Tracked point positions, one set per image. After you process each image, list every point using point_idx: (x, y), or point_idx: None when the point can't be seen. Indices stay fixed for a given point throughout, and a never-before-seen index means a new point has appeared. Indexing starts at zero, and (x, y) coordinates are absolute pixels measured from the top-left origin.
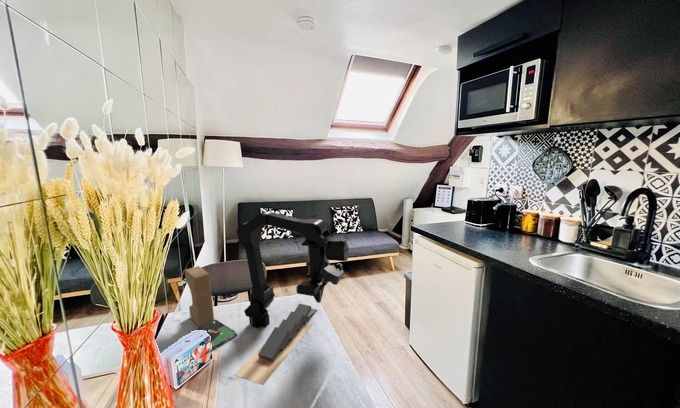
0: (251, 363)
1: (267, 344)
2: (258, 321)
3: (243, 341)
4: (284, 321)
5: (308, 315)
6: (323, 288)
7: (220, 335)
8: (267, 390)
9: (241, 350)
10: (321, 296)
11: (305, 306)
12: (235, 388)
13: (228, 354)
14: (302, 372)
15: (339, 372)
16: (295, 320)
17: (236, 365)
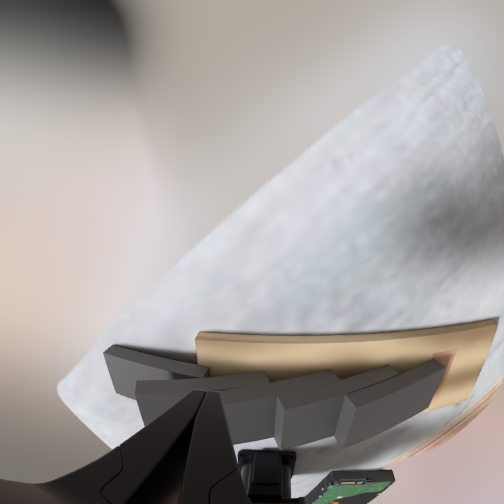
0: (438, 398)
1: (405, 414)
2: (287, 482)
3: (340, 460)
4: (291, 442)
5: (161, 374)
6: (98, 487)
7: (347, 495)
8: (495, 307)
9: (375, 445)
10: (176, 426)
11: (148, 411)
12: (484, 372)
13: (390, 453)
14: (446, 250)
15: (413, 119)
16: (255, 413)
17: (426, 420)
